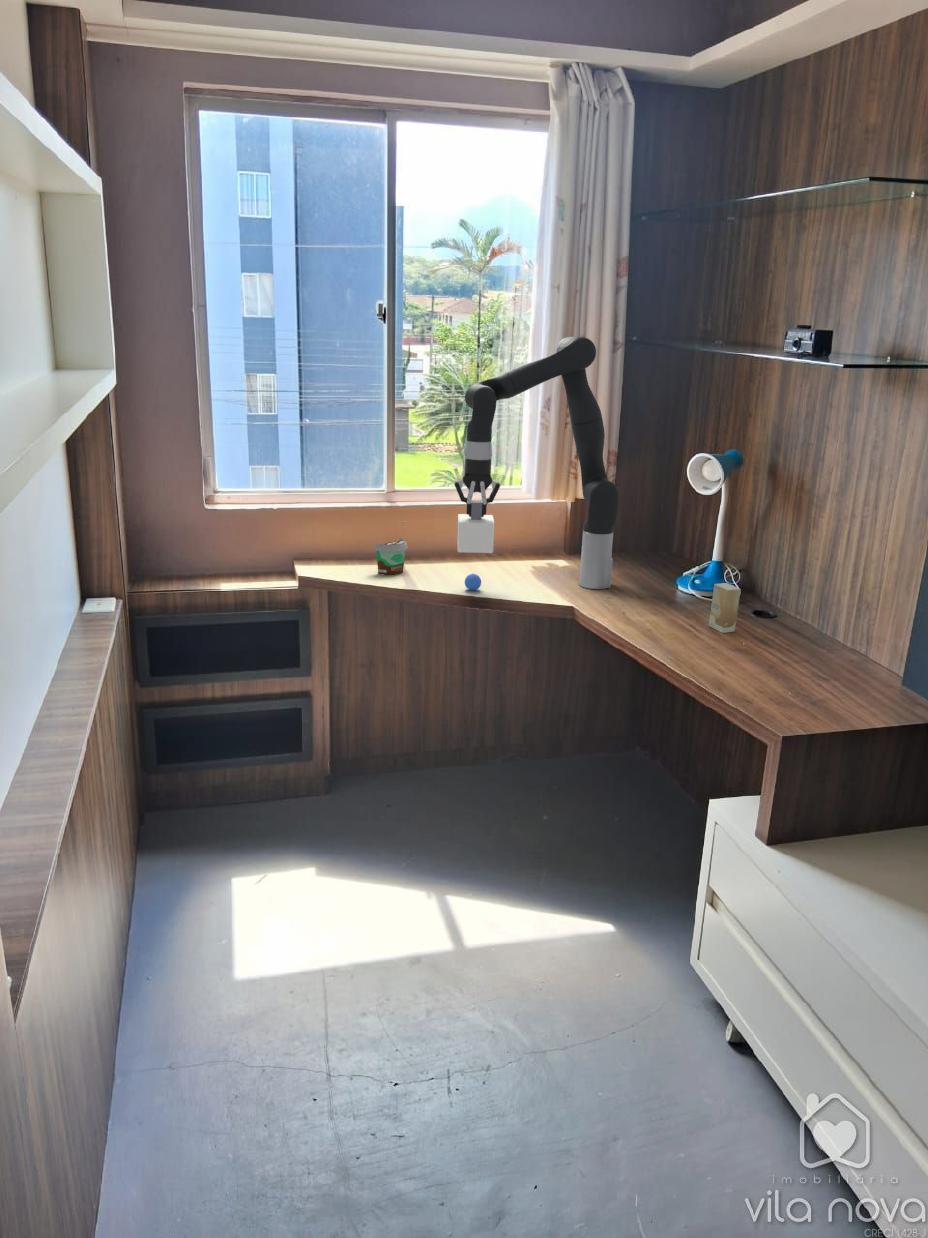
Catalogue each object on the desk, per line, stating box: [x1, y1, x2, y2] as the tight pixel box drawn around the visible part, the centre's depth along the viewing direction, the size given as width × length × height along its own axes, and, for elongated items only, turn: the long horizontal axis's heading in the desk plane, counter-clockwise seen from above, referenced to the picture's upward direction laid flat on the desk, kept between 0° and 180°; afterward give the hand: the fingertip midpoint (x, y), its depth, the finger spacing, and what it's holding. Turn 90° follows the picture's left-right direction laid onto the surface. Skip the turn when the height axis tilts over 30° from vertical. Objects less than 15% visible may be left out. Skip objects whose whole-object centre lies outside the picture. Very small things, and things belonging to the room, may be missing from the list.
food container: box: [374, 537, 408, 576], centre depth 299 cm, size 12×6×10 cm, turn 143°
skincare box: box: [708, 582, 742, 634], centre depth 255 cm, size 6×4×12 cm
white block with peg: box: [456, 500, 495, 554], centre depth 276 cm, size 10×10×14 cm
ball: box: [464, 573, 482, 591], centre depth 284 cm, size 5×5×5 cm
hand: (476, 516), depth 275 cm, fingers closed on white block with peg, 3 cm apart
